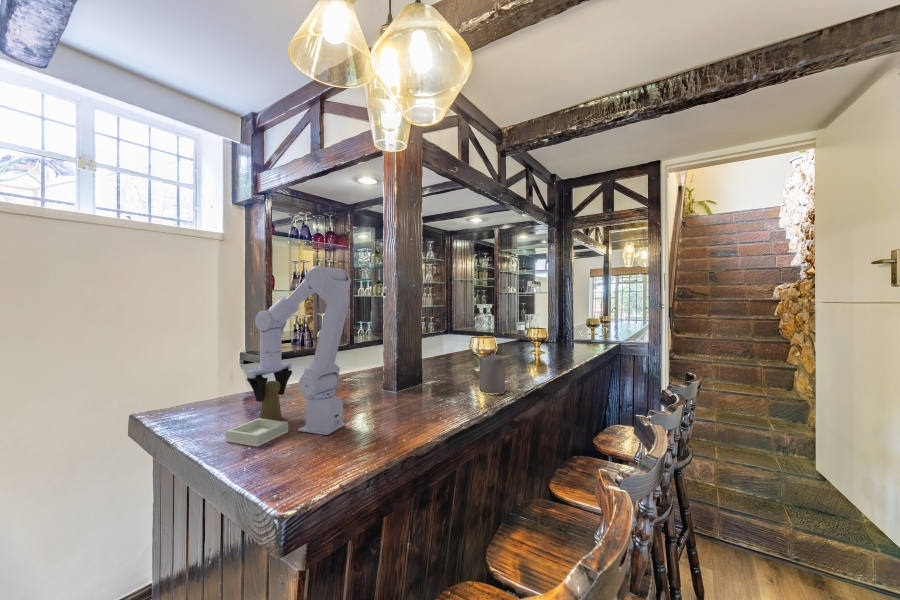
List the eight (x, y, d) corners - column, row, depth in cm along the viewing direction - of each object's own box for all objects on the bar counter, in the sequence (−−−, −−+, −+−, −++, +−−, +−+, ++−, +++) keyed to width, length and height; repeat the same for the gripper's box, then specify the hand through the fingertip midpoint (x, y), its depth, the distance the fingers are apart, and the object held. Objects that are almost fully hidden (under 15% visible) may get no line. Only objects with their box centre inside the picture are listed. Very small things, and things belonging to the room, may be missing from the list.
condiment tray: (288, 432, 94) (288, 422, 94) (257, 446, 85) (257, 435, 85) (258, 427, 98) (258, 418, 98) (225, 441, 88) (225, 430, 88)
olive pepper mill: (275, 422, 102) (275, 383, 102) (254, 421, 102) (254, 383, 102) (285, 415, 108) (285, 379, 108) (265, 415, 108) (266, 379, 108)
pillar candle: (479, 388, 141) (479, 351, 141) (504, 389, 140) (504, 351, 140) (479, 395, 132) (479, 355, 132) (505, 396, 131) (505, 355, 131)
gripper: (278, 348, 113) (278, 390, 113) (238, 354, 100) (238, 403, 100) (296, 349, 111) (296, 392, 111) (258, 355, 97) (258, 405, 97)
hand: (270, 397), depth 105 cm, fingers open, 7 cm apart
